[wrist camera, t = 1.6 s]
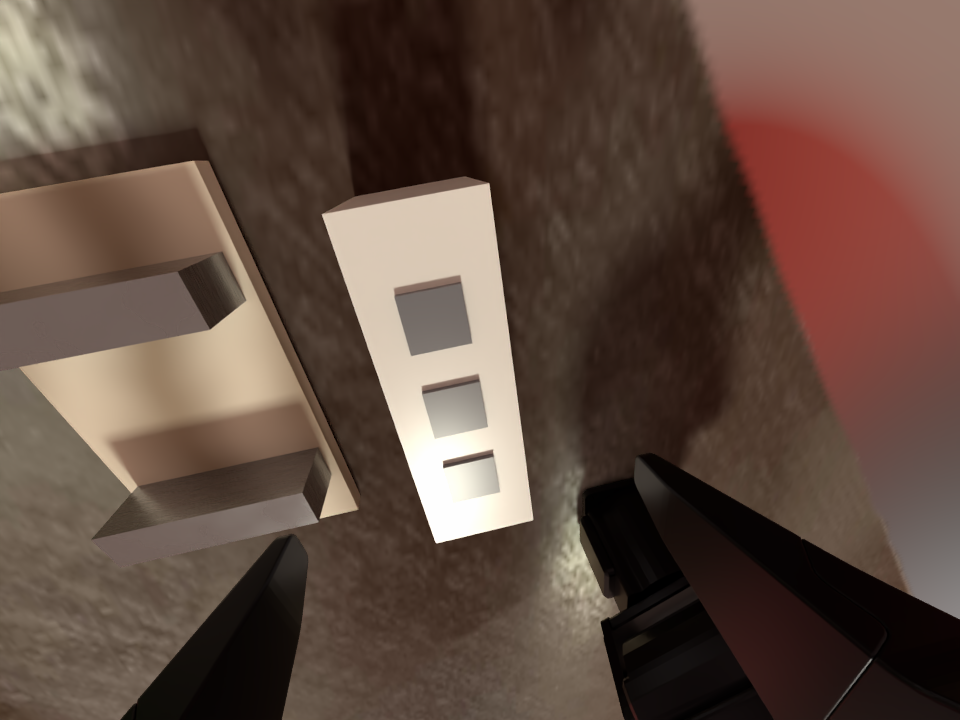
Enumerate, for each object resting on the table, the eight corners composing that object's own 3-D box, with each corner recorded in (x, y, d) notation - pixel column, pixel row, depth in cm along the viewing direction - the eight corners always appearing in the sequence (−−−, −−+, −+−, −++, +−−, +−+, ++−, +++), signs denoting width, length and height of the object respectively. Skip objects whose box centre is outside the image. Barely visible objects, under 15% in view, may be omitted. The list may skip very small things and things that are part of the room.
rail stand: (208, 160, 13) (135, 159, 10) (360, 496, 22) (350, 557, 19) (-82, 210, 13) (-268, 227, 9) (191, 534, 22) (148, 605, 18)
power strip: (464, 176, 15) (490, 183, 10) (505, 434, 22) (534, 523, 17) (355, 196, 15) (320, 215, 9) (431, 451, 22) (436, 547, 16)
